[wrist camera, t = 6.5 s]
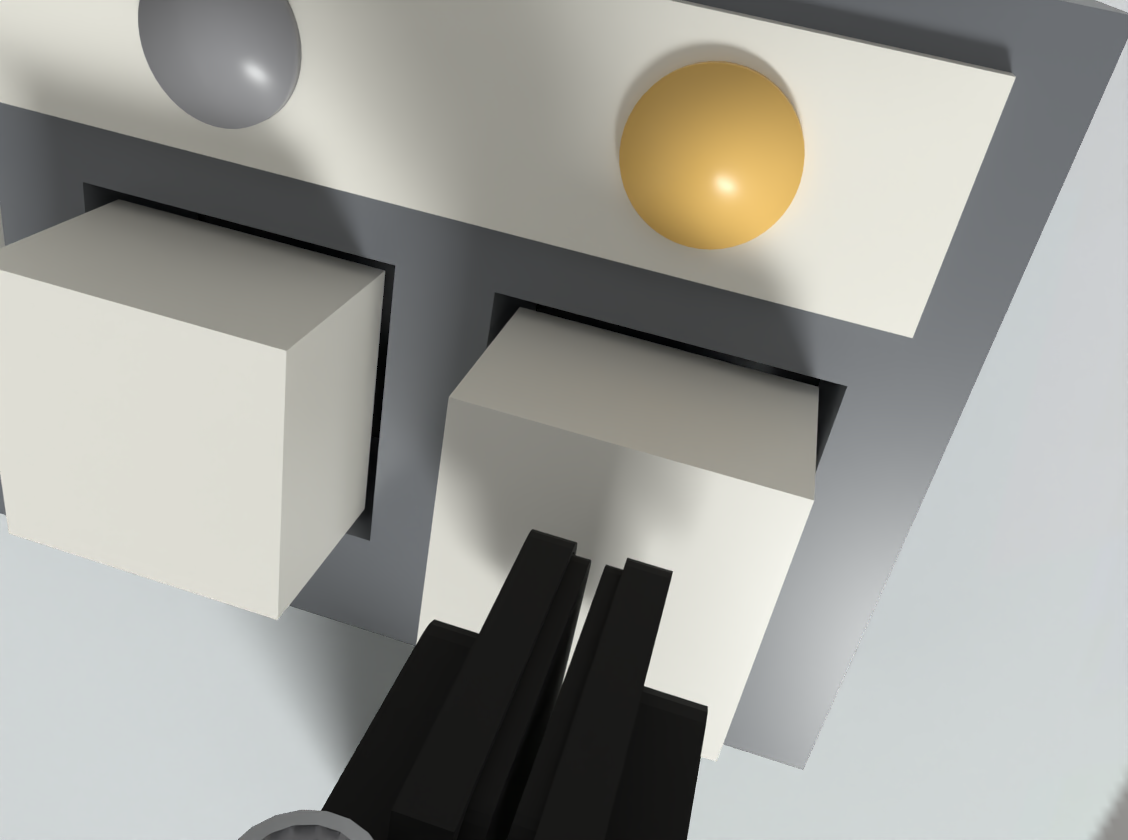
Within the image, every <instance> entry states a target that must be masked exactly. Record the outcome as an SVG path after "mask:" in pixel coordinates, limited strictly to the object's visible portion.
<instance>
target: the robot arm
mask: <svg viewBox="0 0 1128 840" xmlns="http://www.w3.org/2000/svg"><path fill="white" fill-rule="evenodd" d="M576 550H577V542H574V541H571V540H568V539H564V538H561V537H558V536H554V535H551V534H548V533H544V532H541V531H538V530H534V529H532V530H531V531H530V532H529V534H528V536H527V538H526V540H525V542H524V544H523V546H522V548H521V550H520V552H519V554H518V556H517V558H516V560H515V562H514V564H513V566H512V568H511V570H510V572H509V574H508V576H507V578H506V580H505V582H504V584H503V586H502V588H501V590H500V592H499V594H498V596H497V598H496V600H495V602H494V604H493V606H492V608H491V610H490V612H489V614H488V616H487V618H486V620H485V622H484V624H483V626H482V628H481V630H480V632H479V633H476V632H473V631H470V630H466V629H463V628H460V627H457V626H454V625H451V624H448V623H444V622H441V621H438V620H435V619H434V620H433V621H432V622H430V623H429V625H428V626H427V628H426V629H425V631H424V632H423V634H422V635H421V637H420V639H419V641H418V642H417V644H416V646H415V648H414V649H413V651H412V653H411V655H410V656H409V658H408V660H407V662H406V663H405V665H404V667H403V669H402V670H401V672H400V674H399V676H398V677H397V679H396V681H395V683H394V684H393V686H392V688H391V689H390V691H389V693H388V695H387V696H386V698H385V700H384V702H383V703H382V705H381V707H380V709H379V710H378V712H377V714H376V716H375V717H374V719H373V721H372V723H371V724H370V726H369V728H368V730H367V731H366V733H365V735H364V737H363V738H362V740H361V742H360V744H359V745H358V747H357V749H356V751H355V752H354V754H353V756H352V758H351V759H350V761H349V763H348V765H347V766H346V768H345V770H344V772H343V773H342V775H341V777H340V778H339V780H338V782H337V784H336V785H335V787H334V789H333V791H332V792H331V794H330V796H329V798H328V799H327V801H326V803H325V805H324V806H323V808H322V810H321V811H315V810H298V811H293V812H289V813H284V814H279V815H275V816H273V817H271V818H269V819H267V820H265V821H263V822H261V823H259V824H257V825H255V826H253V827H251V828H250V829H249V830H248V831H247V832H246V833H245V834H243V835H242V836H241V837H240V838H239V839H238V840H687V835H688V829H689V823H690V817H691V811H692V805H693V799H694V794H695V788H696V782H697V776H698V770H699V764H700V758H701V752H702V746H703V740H704V734H705V728H706V722H707V715H708V706H705V705H702V704H699V703H696V702H693V701H690V700H686V699H683V698H680V697H677V696H674V695H671V694H668V693H664V692H661V691H658V690H655V689H652V688H649V687H646V686H644V684H645V680H646V676H647V672H648V668H649V664H650V660H651V656H652V652H653V648H654V645H655V641H656V637H657V633H658V629H659V625H660V621H661V617H662V613H663V609H664V605H665V602H666V598H667V594H668V590H669V586H670V582H671V578H672V574H673V571H671V570H667V569H664V568H661V567H657V566H654V565H651V564H647V563H644V562H641V561H637V560H634V559H631V558H627V560H626V563H625V566H624V569H620V568H616V567H613V566H610V565H605V567H604V570H603V573H602V575H601V578H600V581H599V584H598V587H597V589H596V592H595V595H594V598H593V600H592V603H591V606H590V609H589V612H588V614H587V617H586V620H585V623H584V625H583V628H582V631H581V634H580V637H579V639H578V642H577V645H576V648H575V651H574V653H573V656H572V659H571V662H570V664H569V667H568V670H567V673H566V676H565V678H564V675H565V671H566V667H567V663H568V658H569V654H570V650H571V646H572V642H573V638H574V633H575V629H576V625H577V621H578V617H579V613H580V608H581V604H582V600H583V596H584V592H585V588H586V583H587V579H588V575H589V571H590V566H591V560H590V559H587V558H583V557H580V556H577V555H576ZM563 679H564V681H563ZM562 683H563V684H562Z"/></svg>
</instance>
